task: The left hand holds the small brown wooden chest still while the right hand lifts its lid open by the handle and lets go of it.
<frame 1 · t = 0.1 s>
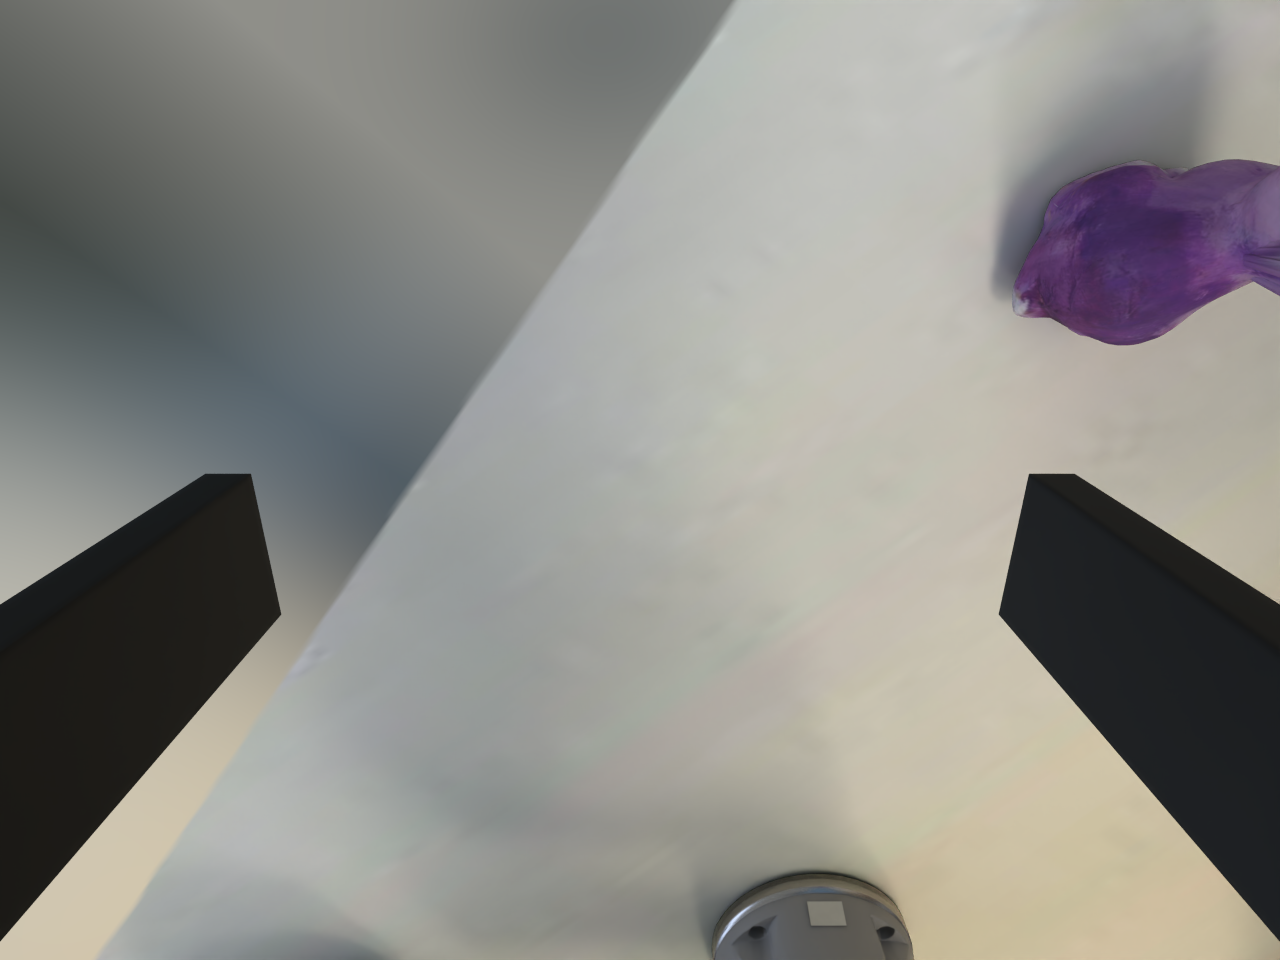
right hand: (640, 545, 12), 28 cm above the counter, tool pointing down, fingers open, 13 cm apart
figurine: (1109, 234, 37), on the counter
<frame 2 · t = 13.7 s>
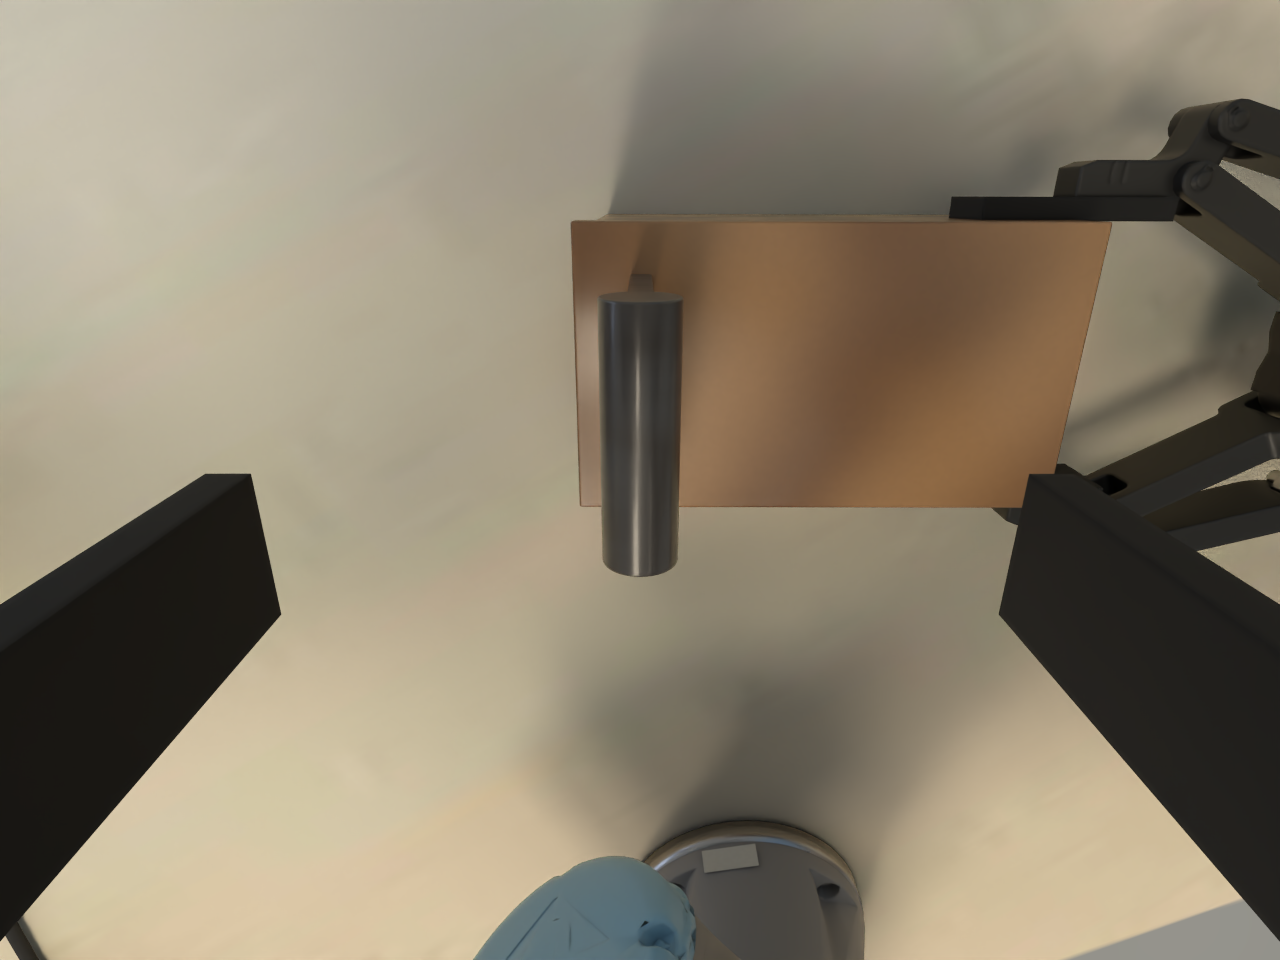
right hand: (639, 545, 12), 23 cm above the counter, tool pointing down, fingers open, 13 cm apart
left hand: (942, 356, 27), fingers closed on chest, 10 cm apart
lid: (853, 401, 21), point 13 cm above the counter, hinge at 0.0°
chest: (783, 326, 33), on the counter, touching left hand
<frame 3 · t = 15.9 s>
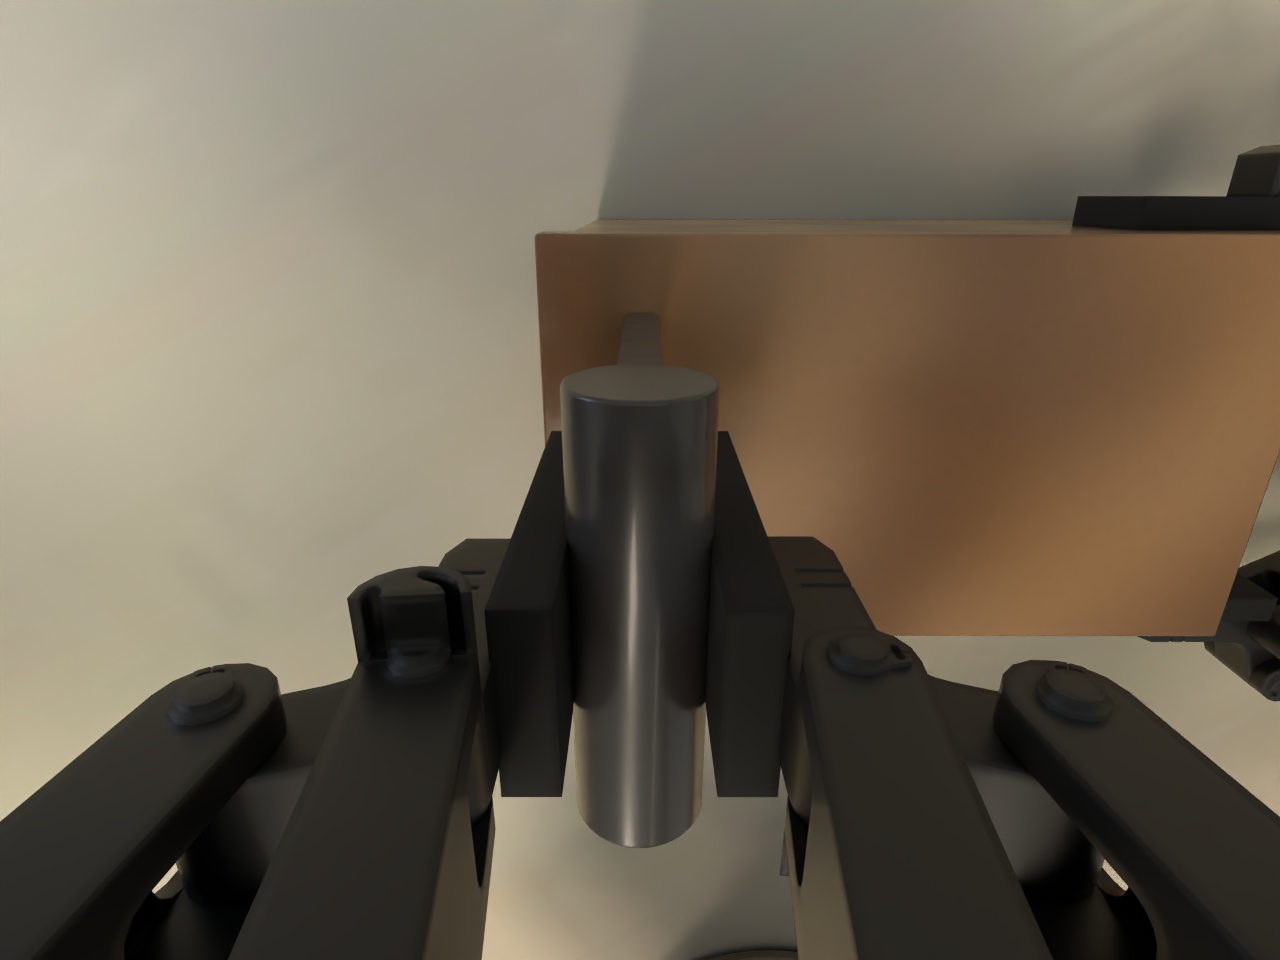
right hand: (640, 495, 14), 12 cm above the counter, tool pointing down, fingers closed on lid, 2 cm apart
lid: (974, 518, 13), point 13 cm above the counter, hinge at 0.0°, touching right hand
chest: (825, 364, 26), on the counter, touching left hand
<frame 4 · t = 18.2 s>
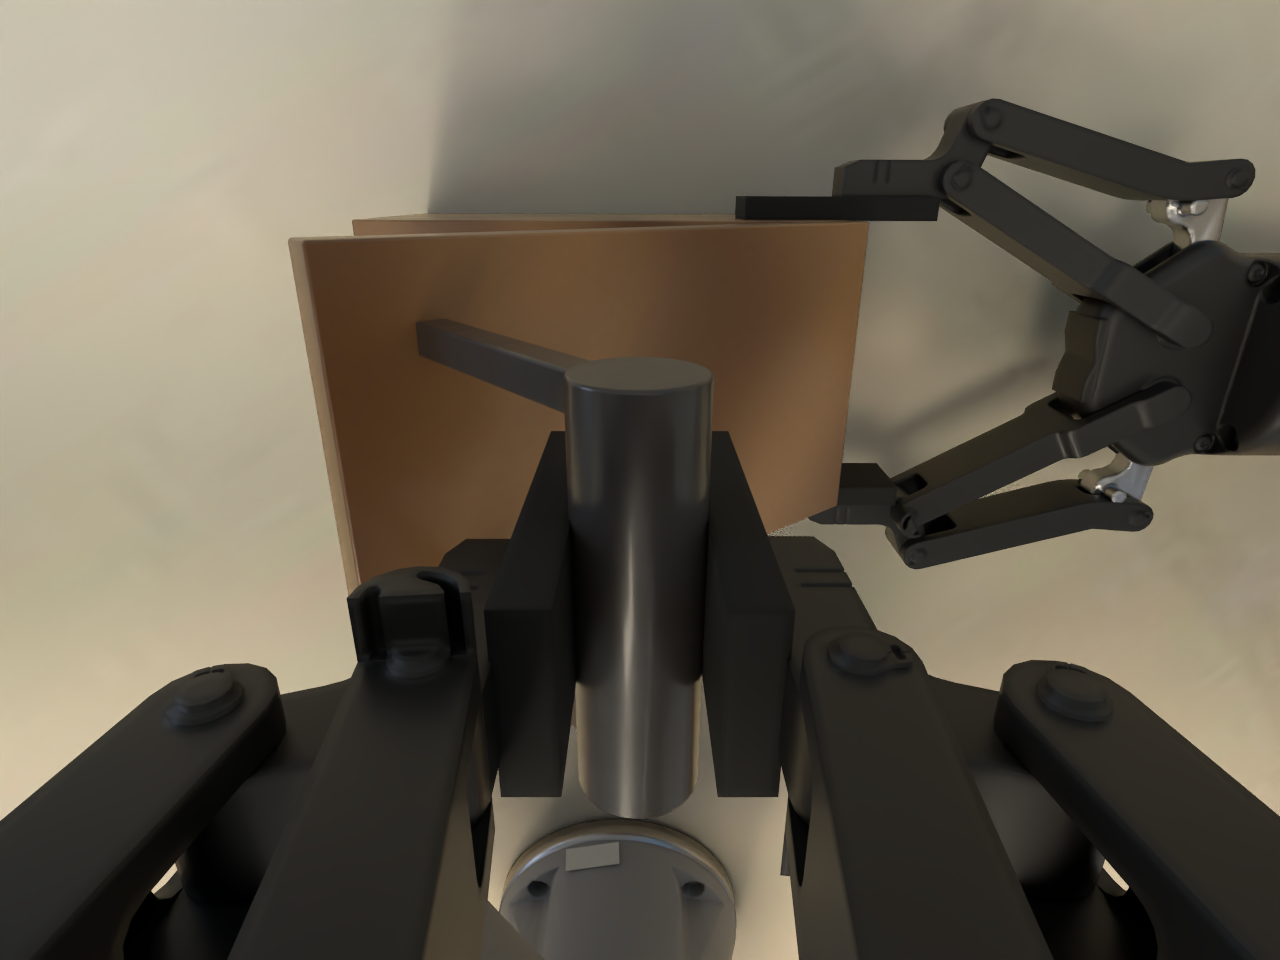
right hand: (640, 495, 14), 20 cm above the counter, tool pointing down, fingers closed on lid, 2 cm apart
left hand: (732, 355, 27), fingers closed on chest, 10 cm apart
lid: (756, 451, 17), point 18 cm above the counter, hinge at 38.0°, touching right hand
chest: (610, 326, 33), on the counter, touching left hand
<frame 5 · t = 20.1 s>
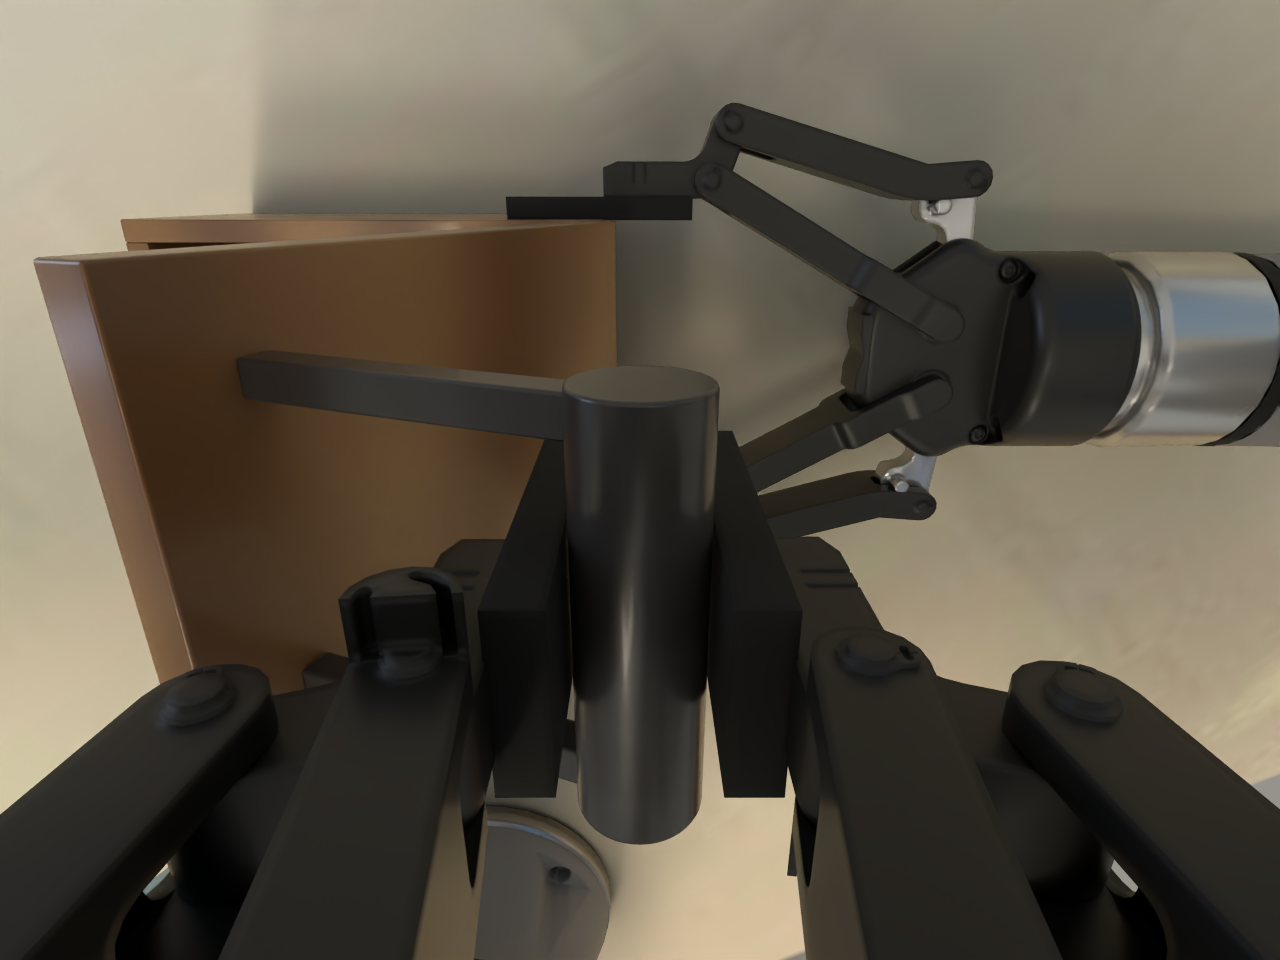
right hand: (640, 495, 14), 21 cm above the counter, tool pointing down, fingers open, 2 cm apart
left hand: (521, 350, 28), fingers closed on chest, 10 cm apart
lid: (606, 451, 17), point 19 cm above the counter, hinge at 67.4°
chest: (439, 322, 34), on the counter, touching left hand
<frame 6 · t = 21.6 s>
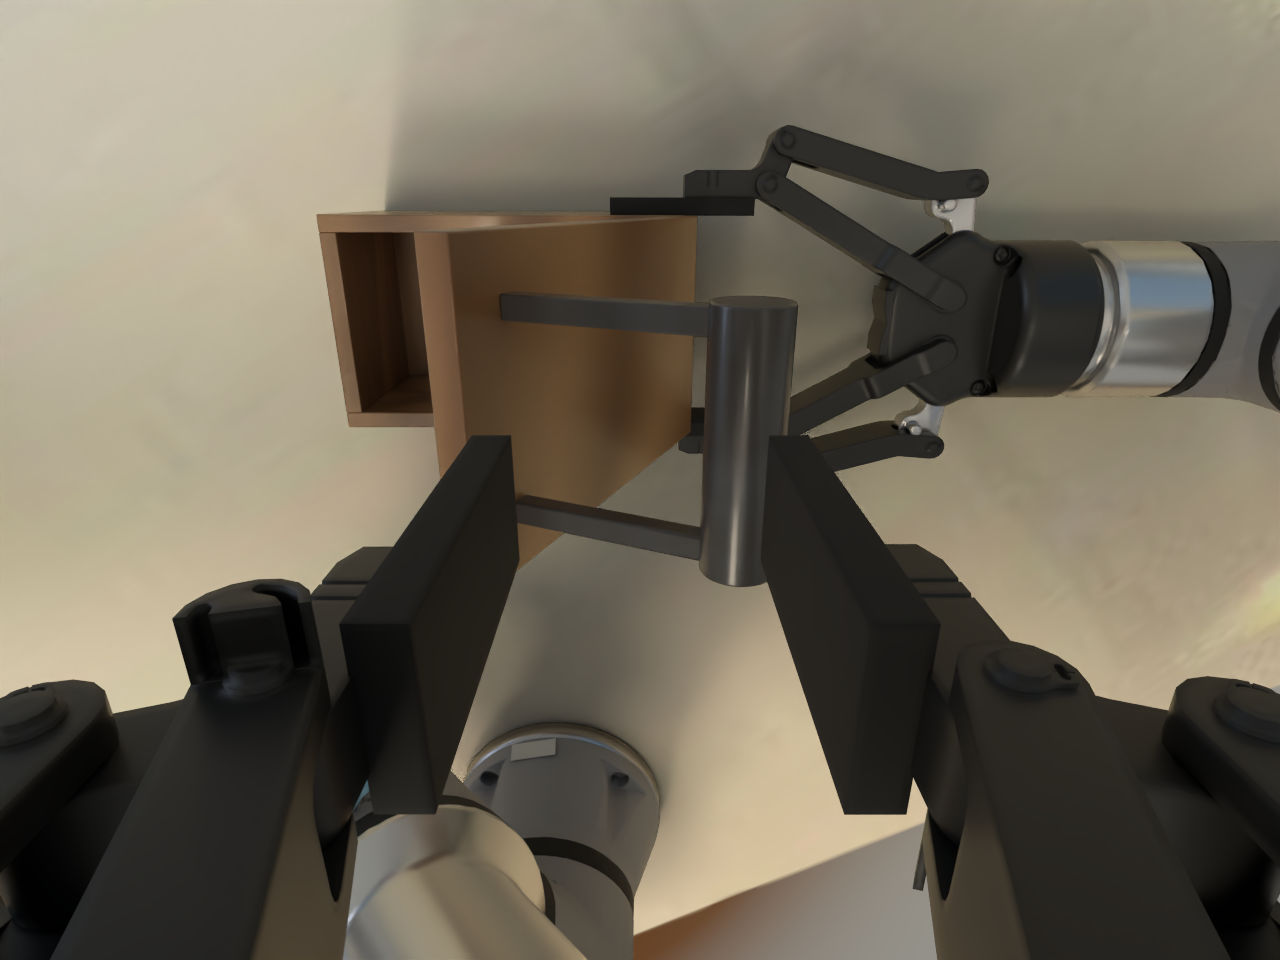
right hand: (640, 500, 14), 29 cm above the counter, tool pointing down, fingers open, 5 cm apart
left hand: (612, 319, 35), fingers closed on chest, 10 cm apart
lid: (701, 376, 24), point 19 cm above the counter, hinge at 65.3°
chest: (532, 301, 41), on the counter, touching left hand
when the left hand's fingers open (7 cm above the counter, at t = 24.1 s): chest stays where it is, on the counter.
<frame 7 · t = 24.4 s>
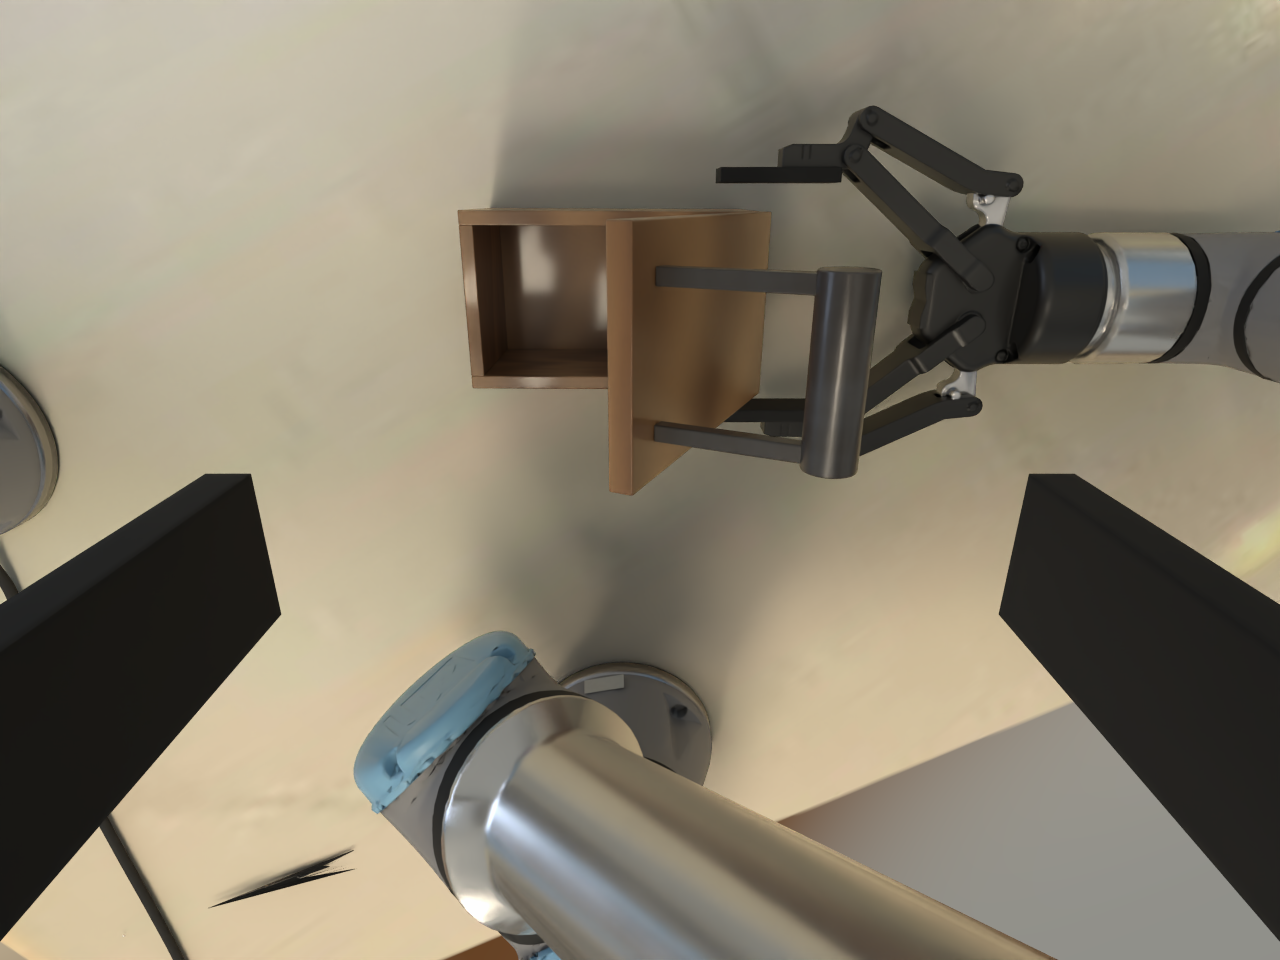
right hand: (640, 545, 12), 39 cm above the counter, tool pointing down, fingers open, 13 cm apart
left hand: (712, 299, 42), fingers open, 13 cm apart
feather: (240, 892, 69), on the counter
lid: (786, 336, 31), point 19 cm above the counter, hinge at 65.0°
chest: (615, 286, 48), on the counter
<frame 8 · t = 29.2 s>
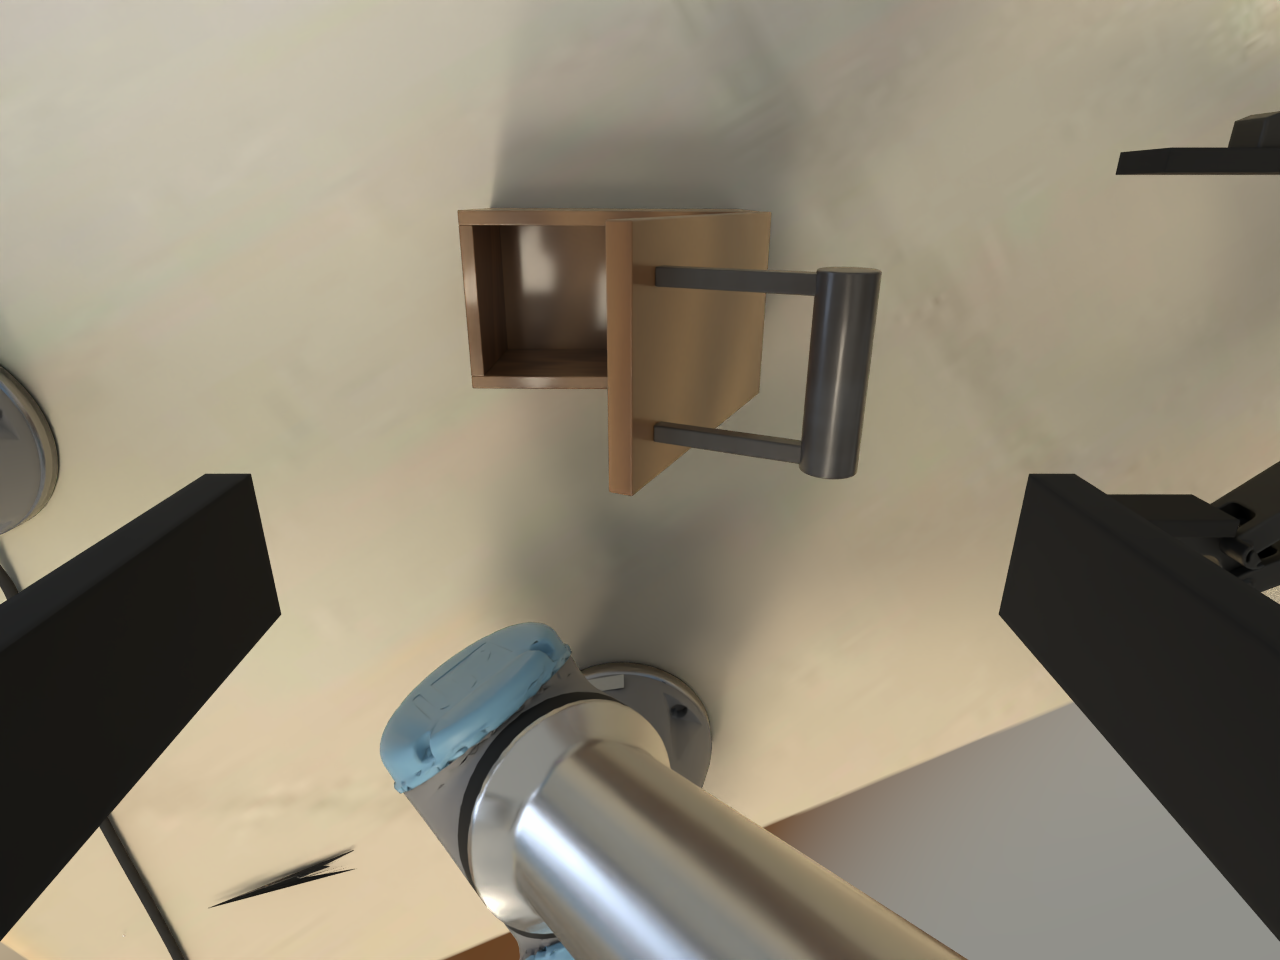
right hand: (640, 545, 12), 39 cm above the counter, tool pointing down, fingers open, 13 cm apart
feather: (240, 892, 69), on the counter
lid: (786, 336, 31), point 19 cm above the counter, hinge at 65.0°
chest: (615, 286, 48), on the counter
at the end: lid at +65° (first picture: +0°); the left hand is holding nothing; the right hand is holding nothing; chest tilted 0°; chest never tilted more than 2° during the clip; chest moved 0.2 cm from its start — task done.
